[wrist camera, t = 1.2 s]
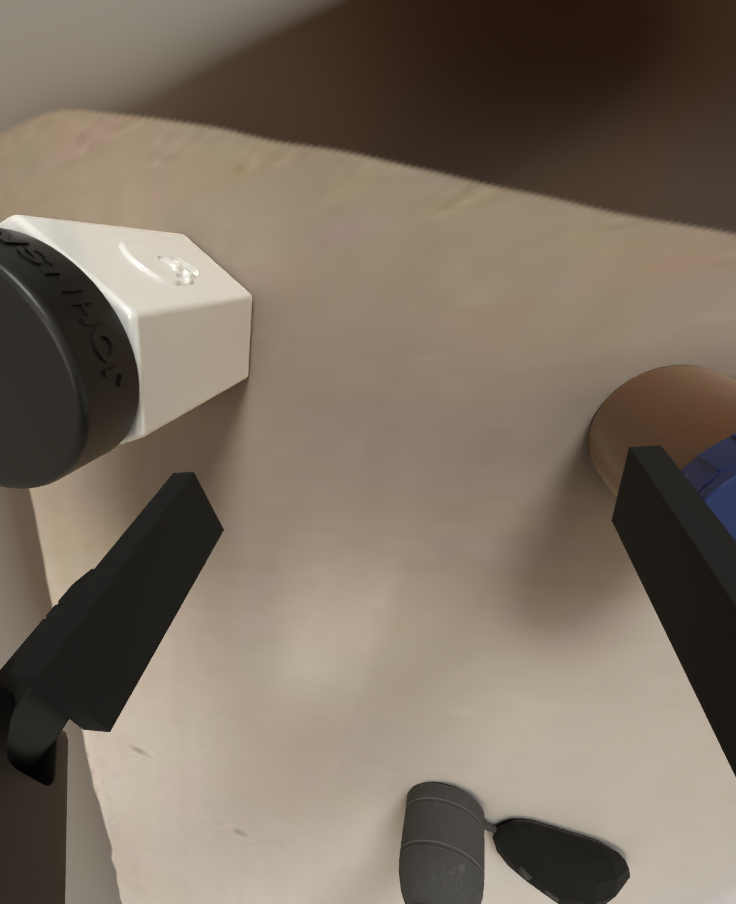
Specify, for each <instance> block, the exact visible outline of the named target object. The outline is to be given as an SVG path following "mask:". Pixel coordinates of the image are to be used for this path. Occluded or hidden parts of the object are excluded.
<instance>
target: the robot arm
mask: <svg viewBox="0 0 736 904" xmlns="http://www.w3.org/2000/svg"><path fill="white" fill-rule="evenodd" d="M612 522H613V524H614V526H615V528H616V531H617V533H618V535H619V537H620V539H621V541H622V543H623V545H624V547H625V549H626V551H627V553H628V555H629V557H630V559H631V562H632V564H633V566H634V568H635V570H636V572H637V574H638V576H639V578H640V580H641V582H642V584H643V586H644V588H645V590H646V593H647V595H648V597H649V599H650V601H651V603H652V605H653V607H654V609H655V611H656V613H657V615H658V617H659V619H660V621H661V624H662V626H663V628H664V630H665V632H666V634H667V636H668V638H669V640H670V642H671V644H672V646H673V648H674V650H675V652H676V655H677V657H678V659H679V661H680V663H681V665H682V667H683V669H684V671H685V673H686V675H687V677H688V679H689V681H690V683H691V686H692V688H693V690H694V692H695V694H696V696H697V698H698V700H699V702H700V704H701V706H702V708H703V710H704V712H705V714H706V717H707V719H708V721H709V723H710V725H711V727H712V729H713V731H714V733H715V735H716V737H717V739H718V741H719V743H720V745H721V748H722V750H723V752H724V754H725V756H726V758H727V760H728V762H729V764H730V766H731V768H732V770H733V772H734V774H735V776H736V541H735V539H734V538H733V537H732V536H731V534H730V533H729V532H728V530H727V529H726V528H725V527H724V525H723V524H722V523H721V521H720V520H719V519H718V518H717V516H716V515H715V514H714V513H713V511H712V510H711V509H710V507H709V506H708V505H707V504H706V502H705V501H704V500H703V498H702V497H701V496H700V495H699V493H698V492H697V491H696V489H695V488H694V487H693V486H692V484H691V483H690V482H689V480H688V479H687V478H686V477H685V475H684V474H683V473H682V471H681V470H680V469H679V468H678V466H677V465H676V464H675V463H674V461H673V460H672V459H671V457H670V456H669V455H668V454H667V452H666V451H665V450H664V448H663V447H662V446H661V445H655V446H638V447H629V449H628V453H627V457H626V461H625V466H624V470H623V474H622V479H621V483H620V487H619V492H618V496H617V500H616V504H615V509H614V513H613V517H612ZM223 531H224V529H223V527H222V525H221V523H220V521H219V520H218V518H217V516H216V514H215V512H214V510H213V508H212V506H211V504H210V502H209V500H208V498H207V497H206V495H205V493H204V491H203V489H202V487H201V485H200V483H199V481H198V479H197V477H196V475H195V473H194V472H183V473H173V474H172V475H171V477H170V478H169V479H168V480H167V482H166V483H165V484H164V485H163V486H162V488H161V489H160V490H159V491H158V492H157V494H156V495H155V496H154V497H153V499H152V500H151V501H150V502H149V503H148V505H147V506H146V507H145V508H144V509H143V511H142V512H141V513H140V514H139V516H138V517H137V518H136V519H135V520H134V522H133V523H132V524H131V525H130V526H129V528H128V529H127V530H126V531H125V533H124V534H123V535H122V536H121V537H120V539H119V540H118V541H117V542H116V543H115V545H114V546H113V547H112V548H111V550H110V551H109V552H108V553H107V554H106V556H105V557H104V558H103V559H102V560H101V562H100V563H99V564H98V565H97V567H96V568H95V569H91V570H90V571H89V572H87V573H86V574H85V575H84V576H82V577H81V578H80V579H79V580H77V581H76V582H75V583H74V584H73V585H72V586H71V587H70V588H69V589H68V590H67V592H66V593H65V594H64V595H63V596H62V598H61V599H60V600H59V601H58V602H59V603H58V605H55V606H54V607H53V608H52V609H51V611H50V612H49V613H48V614H47V615H46V616H47V618H46V619H43V620H42V621H41V622H40V624H39V625H38V626H37V627H36V628H35V630H34V631H33V632H32V633H31V634H30V635H29V637H28V638H27V639H26V640H25V641H24V643H23V644H22V645H21V646H20V647H19V649H18V650H17V651H16V652H15V653H14V654H13V656H12V657H11V658H10V659H9V660H8V662H7V663H6V664H5V665H4V666H3V668H2V669H1V670H0V904H65V875H66V817H67V762H68V760H67V759H68V739H67V735H66V732H64V731H63V730H62V729H63V728H64V726H65V725H66V723H67V721H68V720H69V719H70V720H72V721H73V722H74V723H75V724H77V725H78V726H79V727H81V728H82V729H83V730H93V731H104V732H110V731H111V729H112V727H113V726H114V724H115V722H116V720H117V719H118V717H119V715H120V713H121V711H122V710H123V708H124V706H125V704H126V703H127V701H128V699H129V697H130V695H131V694H132V692H133V690H134V688H135V687H136V685H137V683H138V681H139V680H140V678H141V676H142V674H143V672H144V671H145V669H146V667H147V665H148V664H149V662H150V660H151V658H152V656H153V655H154V653H155V651H156V649H157V648H158V646H159V644H160V642H161V641H162V639H163V637H164V635H165V633H166V632H167V630H168V628H169V626H170V625H171V623H172V621H173V619H174V617H175V616H176V614H177V612H178V610H179V609H180V607H181V605H182V603H183V602H184V600H185V598H186V596H187V594H188V593H189V591H190V589H191V587H192V586H193V584H194V582H195V580H196V578H197V577H198V575H199V573H200V571H201V570H202V568H203V566H204V564H205V563H206V561H207V559H208V557H209V555H210V554H211V552H212V550H213V548H214V547H215V545H216V543H217V541H218V539H219V538H220V536H221V534H222V532H223Z"/></svg>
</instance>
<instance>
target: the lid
mask: <svg viewBox="0 0 736 904" xmlns="http://www.w3.org/2000/svg"><path fill="white" fill-rule="evenodd" d="M681 471H682V473H683V474H684V475H685V477H686V478H687V479H688V480H689V482H690V483H691V484H692V486H693V487H694V488H695V489H696V491H697V492H698V493H699V495H700V496H701V497H702V498H703V500H704V501H705V502H706V504H707V505H708V506H709V507H710V509H711V510H712V511H713V513H714V514H715V515H716V516H717V518H718V519H719V520H720V521H721V523H722V524H723V525H724V527H725V528H726V529H727V530H728V532H729V533H730V534H731V536H732V537H733V538H734V539H735V541H736V433H732V434H731V436H729V437H727V438H725V439H724V440H722V441H720V442H718V443H716V444H714V445H713V446H711V447H710V448H708V449H707V450H705V451H704V452H702V453H698V454H697V457H696V458H694V459H693V460H692V461H691V462H690V463H688V464H687V465H686V466H685V467H684V468H683V469H682V470H681Z"/></svg>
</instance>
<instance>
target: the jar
mask: <svg viewBox="0 0 736 904" xmlns="http://www.w3.org/2000/svg"><path fill="white" fill-rule="evenodd" d="M251 317H252V295H251V294H250V293H249V292H248V291H247V290H246V289H245V288H244V287H243V286H242V285H240V284H239V283H238V282H237V281H236V280H235V279H234V278H233V277H231V276H230V275H229V274H228V273H227V272H226V271H225V270H224V269H222V268H221V267H220V266H219V265H218V264H217V263H216V262H215V261H213V260H212V259H211V258H210V257H209V256H208V255H207V254H205V253H204V252H203V251H202V250H201V249H200V248H199V247H198V246H196V245H195V244H194V243H193V242H192V241H191V240H190V239H189V238H187V237H186V236H185V235H183V234H179V233H171V232H162V231H154V230H145V229H137V228H128V227H120V226H111V225H102V224H94V223H85V222H77V221H68V220H60V219H51V218H43V217H34V216H26V215H12V216H10V217H9V218H7V219H5V220H4V221H2V222H0V486H2V487H8V488H34V487H40V486H44V485H47V484H50V483H53V482H55V481H57V480H59V479H61V478H62V477H64V476H66V475H68V474H70V473H71V472H73V471H75V470H77V469H79V468H80V467H82V466H84V465H86V464H88V463H89V462H91V461H93V460H95V459H97V458H98V457H100V456H102V455H104V454H106V453H107V452H109V451H111V450H112V449H114V448H115V447H116V446H118V445H121V444H124V443H127V442H130V441H134V440H137V439H140V438H143V437H145V436H147V435H148V434H150V433H152V432H154V431H155V430H157V429H159V428H161V427H162V426H164V425H166V424H168V423H169V422H171V421H173V420H175V419H176V418H178V417H180V416H181V415H183V414H185V413H187V412H188V411H190V410H192V409H194V408H195V407H197V406H199V405H201V404H202V403H204V402H206V401H208V400H209V399H211V398H213V397H215V396H216V395H218V394H220V393H222V392H223V391H225V390H227V389H229V388H230V387H232V386H234V385H236V384H237V383H239V382H241V381H243V380H244V379H246V378H247V377H248V373H249V355H250V336H251Z"/></svg>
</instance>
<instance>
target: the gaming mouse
mask: <svg viewBox="0 0 736 904" xmlns="http://www.w3.org/2000/svg"><path fill="white" fill-rule="evenodd" d="M484 829H485V830H487V831H491V832H492V833H494V835H493V840H494V843H495V846H496V849H497V852H498V853H499V854H500V856H501V857H502V858H503V859H504V861H505V862H506V863H507V865H508V866H509V867H511V868H512V869H513V870H514V871H515V872H516V873H518V874H519V875H520V876H521V877H522V878H523V879H525V880H526V881H527V882H528V883H530V884H531V885H532V886H534V887H535V888H537V889H538V890H539V891H541V892H542V893H544V894H545V895H546V896H548V897H549V898H551V899H552V900H554V901H555V902H557V903H558V904H606V903H608V902H609V901H610V900H612V899H613V898H614V897H615V896H616V895H617V894H618V892H619V891H620V890H621V888H622V887H623V886H624V884H625V883H626V882H627V880H628V879H629V878H630V873H629V868H628V865H627V863H626V861H625V860H624V859H623V858H622V856H621V855H620V854H619V853H617V852H616V851H614V850H612V849H611V848H609V847H608V846H606V845H604V844H603V843H601V842H599V841H597V840H594V839H591V838H588V837H585V836H581V835H578V834H574V833H571V832H567V831H564V830H561V829H558V828H555V827H552V826H549V825H545V824H542V823H538V822H535V821H531V820H513V821H511V822H508V823H505V824H502V825H500V826H499V827H498V828H496V826H495V825H491V823H489V822H487V821H485V820H484Z"/></svg>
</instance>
